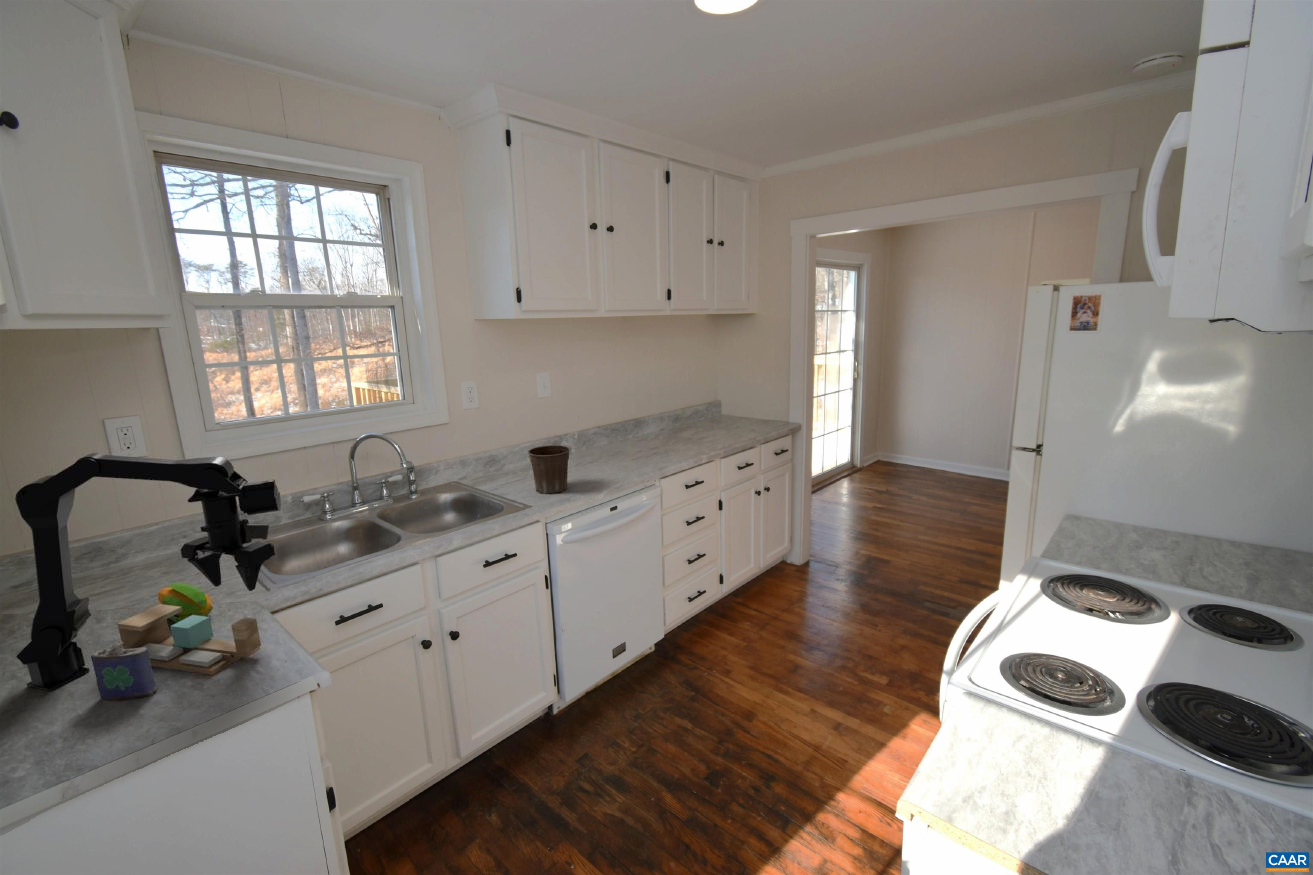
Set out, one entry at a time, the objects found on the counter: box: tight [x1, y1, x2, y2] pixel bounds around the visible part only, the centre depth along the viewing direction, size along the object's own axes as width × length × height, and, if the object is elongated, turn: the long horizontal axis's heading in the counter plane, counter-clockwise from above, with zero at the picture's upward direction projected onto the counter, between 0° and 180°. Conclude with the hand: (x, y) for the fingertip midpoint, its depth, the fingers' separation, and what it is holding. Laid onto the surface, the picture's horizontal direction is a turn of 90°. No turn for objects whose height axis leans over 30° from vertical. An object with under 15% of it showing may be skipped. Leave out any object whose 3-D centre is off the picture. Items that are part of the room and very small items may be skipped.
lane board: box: [117, 603, 242, 676], centre depth 116 cm, size 8×22×9 cm, turn 77°
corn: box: [157, 582, 213, 623], centre depth 134 cm, size 7×8×20 cm
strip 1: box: [140, 643, 222, 667], centre depth 115 cm, size 3×19×1 cm, turn 77°
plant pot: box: [527, 445, 571, 495], centre depth 223 cm, size 16×16×16 cm
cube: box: [170, 615, 214, 648], centre depth 118 cm, size 4×4×4 cm
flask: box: [90, 640, 158, 702], centre depth 104 cm, size 9×3×11 cm, turn 95°
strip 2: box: [172, 616, 262, 659], centre depth 117 cm, size 3×19×7 cm, turn 77°
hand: (234, 587), depth 121 cm, fingers open, 9 cm apart
